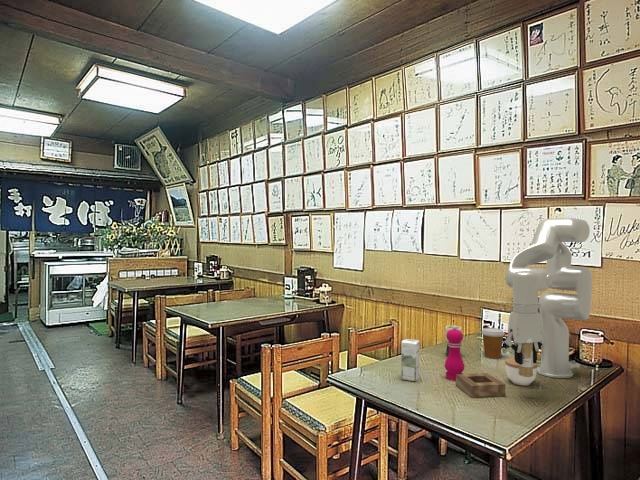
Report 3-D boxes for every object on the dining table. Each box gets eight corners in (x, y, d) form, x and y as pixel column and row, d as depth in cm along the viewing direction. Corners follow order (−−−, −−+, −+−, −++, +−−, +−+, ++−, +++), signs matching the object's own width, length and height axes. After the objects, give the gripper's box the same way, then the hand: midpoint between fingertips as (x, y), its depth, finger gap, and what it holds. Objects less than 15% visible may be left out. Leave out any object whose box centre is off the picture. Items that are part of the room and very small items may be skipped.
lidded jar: (523, 389, 154) (523, 363, 154) (498, 380, 164) (498, 355, 163) (543, 384, 159) (543, 359, 159) (518, 376, 168) (518, 351, 168)
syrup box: (419, 377, 167) (419, 339, 167) (416, 382, 161) (416, 343, 161) (404, 375, 169) (404, 338, 169) (400, 380, 164) (401, 341, 164)
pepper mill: (465, 381, 162) (465, 327, 162) (445, 380, 164) (445, 326, 163) (463, 375, 169) (463, 323, 169) (443, 374, 171) (444, 323, 170)
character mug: (455, 360, 189) (456, 330, 189) (440, 357, 194) (440, 328, 194) (465, 355, 198) (466, 326, 197) (450, 352, 202) (450, 324, 202)
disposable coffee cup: (479, 353, 200) (479, 327, 200) (501, 354, 199) (501, 327, 199) (483, 359, 191) (484, 331, 191) (506, 360, 189) (507, 332, 189)
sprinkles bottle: (516, 375, 146) (516, 335, 145) (520, 371, 149) (520, 332, 149) (531, 378, 143) (531, 338, 142) (535, 374, 146) (534, 334, 146)
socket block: (487, 384, 160) (487, 373, 160) (505, 396, 148) (505, 384, 148) (456, 385, 158) (456, 374, 158) (471, 397, 146) (471, 385, 146)
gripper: (541, 304, 150) (542, 357, 151) (495, 307, 148) (496, 361, 149) (556, 309, 142) (556, 364, 143) (507, 312, 140) (508, 368, 141)
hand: (525, 362), depth 146 cm, fingers closed on sprinkles bottle, 4 cm apart
